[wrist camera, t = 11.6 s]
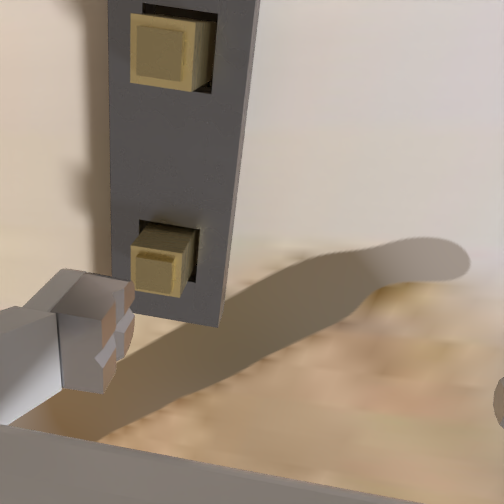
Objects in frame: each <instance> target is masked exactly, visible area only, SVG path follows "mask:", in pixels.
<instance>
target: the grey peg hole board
mask: <svg viewBox="0 0 504 504" xmlns="http://www.w3.org/2000/svg"><path fill="white" fill-rule="evenodd" d="M156 5H162V6H168V7H175V8H182V9H189V10H196V11H203V12H210V13H217V14H218V22H217V34H216V46H215V58H214V70H213V82H212V88H210V87H203V86H200V87H199V88H197V89H195V90H194V91H192V92H188V91H182V90H175V89H168V88H162V87H155V86H149V85H142V84H136V83H130V28H131V13H139V14H155V10H156ZM259 7H260V0H108V49H109V116H110V184H111V251H112V277H116V278H121V279H126V280H131V244H132V243H133V242H134V241H135V239H136V238H137V237H138V236H139V234H140V233H141V232H142V231H143V229H144V228H145V227H146V226H147V224H148V223H149V222H150V221H152V222H158V223H164V224H170V225H176V226H182V227H188V228H194V229H200V238H199V250H198V262H197V266H196V265H195V267H194V269H193V271H192V273H191V275H190V277H189V279H188V281H187V284H186V286H185V288H184V290H183V292H182V294H181V296H180V298H178V297H172V296H165V295H159V294H153V293H147V292H141V291H135V299H134V301H133V302H132V304H131V306H130V307H129V308H130V309H131V311H132V312H133V313H136V314H142V315H148V316H153V317H159V318H165V319H171V320H176V321H182V322H188V323H194V324H199V325H205V326H211V327H217V328H218V326H219V322H220V319H221V316H222V312H223V308H224V300H225V292H226V283H227V275H228V267H229V258H230V250H231V242H232V233H233V225H234V216H235V208H236V200H237V191H238V183H239V175H240V166H241V158H242V149H243V141H244V133H245V124H246V116H247V108H248V99H249V91H250V82H251V74H252V66H253V57H254V49H255V41H256V32H257V24H258V15H259Z"/></svg>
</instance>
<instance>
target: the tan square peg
mask: <svg viewBox="0 0 504 504" xmlns="http://www.w3.org/2000/svg"><path fill="white" fill-rule="evenodd" d="M216 26H217V22H212V21H205V20H198V19H191V18H184V17H177V16H170V15H163V14H139V13H131V28H130V83H136V84H142V85H149V86H155V87H162V88H168V89H175V90H182V91H188V92H192V91H194V90H195V89H197V88H199V87H200V86H202V85H204V84H205V83H207V82H209V81H210V80H212V74H213V62H214V50H215V38H216Z"/></svg>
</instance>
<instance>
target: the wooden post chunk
mask: <svg viewBox="0 0 504 504" xmlns="http://www.w3.org/2000/svg"><path fill="white" fill-rule="evenodd" d="M199 238H200V229H194V228H188V227H182V226H176V225H170V224H164V223H158V222H152V221H150V222H149V223H148V224H147V226H146V227H145V228H144V229H143V231H142V232H141V233H140V234H139V236H138V237H137V238H136V239H135V241H134V242H133V243H132V244H131V281H133V283H134V285H135V291H141V292H147V293H153V294H159V295H165V296H172V297H178V298H180V296H181V294H182V292H183V290H184V288H185V286H186V284H187V281H188V279H189V277H190V275H191V273H192V271H193V269H194V267H195V264H196V262H197V260H198V250H199Z"/></svg>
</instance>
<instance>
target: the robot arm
mask: <svg viewBox="0 0 504 504" xmlns="http://www.w3.org/2000/svg"><path fill="white" fill-rule="evenodd" d="M134 299H135V285H134V283H133V281H131V280H126V279H121V278H116V277H110V276H105V275H100V274H95V273H90V272H88V273H87V272H85V271H79V270H73V269H67V268H66V269H61V270H60V271H59V272H58V273H57V274H55V275H54V276H53V277H52V278H51V279H50V280H49V281H48V282H47V283H46V284H45V285H44V286H43V287H42V288H41V289H40V290H39V291H38V292H37V293H36V294H35V295H34V296H33V297H32V298H31V299H30V300H29V301H28V302H27V303H26V304H25V305H24V306H23V307H18V306H14V307H11V308H8V309H5V310H2V311H0V504H423V503H418V502H413V501H407V500H402V499H396V498H391V497H386V496H380V495H375V494H370V493H364V492H359V491H354V490H348V489H343V488H337V487H332V486H327V485H321V484H316V483H311V482H305V481H300V480H295V479H289V478H284V477H278V476H273V475H268V474H262V473H257V472H252V471H246V470H241V469H236V468H230V467H225V466H220V465H214V464H209V463H204V462H198V461H193V460H188V459H183V458H177V457H172V456H167V455H161V454H156V453H151V452H145V451H140V450H135V449H129V448H124V447H119V446H114V445H108V444H103V443H98V442H92V441H87V440H82V439H76V438H71V437H66V436H60V435H55V434H50V433H44V432H39V431H34V430H28V429H23V428H18V427H12V426H7V425H8V424H10V423H12V422H13V421H15V420H16V419H18V418H19V417H21V416H22V415H24V414H25V413H27V412H28V411H30V410H31V409H33V408H35V407H36V406H38V405H39V404H41V403H43V402H44V401H46V400H47V399H49V398H50V397H52V396H53V395H55V394H56V393H58V392H59V391H61V390H62V388H67V389H73V390H80V391H87V392H93V393H99V394H104V392H105V390H106V389H107V387H108V385H109V383H110V382H111V380H112V378H113V376H114V375H115V373H116V361H118V360H120V359H122V358H124V357H125V355H126V353H127V351H128V349H129V346H130V343H131V340H132V337H133V331H134V323H135V315H134V314H133V312H132V311H131V309H130V308H129V307H130V306H131V304H132V302H133V301H134ZM493 407H494V412H495V416H496V418H497V420H498V423H499V425H500V426H502V427H503V428H504V377H503V378H501V379H500V380H499V382H498V385H497V387H496V389H495V391H494V401H493Z"/></svg>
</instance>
